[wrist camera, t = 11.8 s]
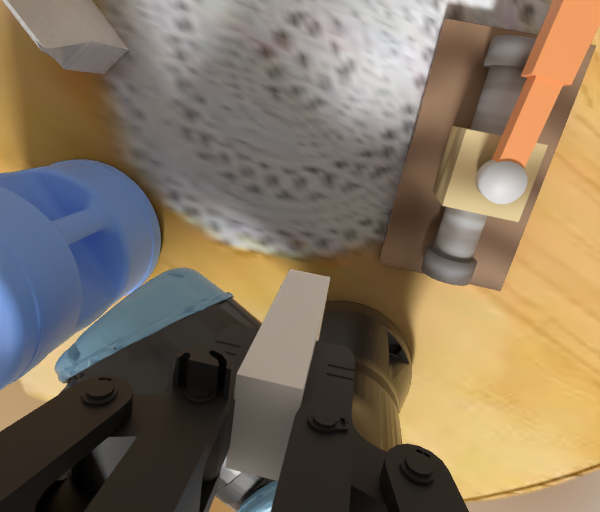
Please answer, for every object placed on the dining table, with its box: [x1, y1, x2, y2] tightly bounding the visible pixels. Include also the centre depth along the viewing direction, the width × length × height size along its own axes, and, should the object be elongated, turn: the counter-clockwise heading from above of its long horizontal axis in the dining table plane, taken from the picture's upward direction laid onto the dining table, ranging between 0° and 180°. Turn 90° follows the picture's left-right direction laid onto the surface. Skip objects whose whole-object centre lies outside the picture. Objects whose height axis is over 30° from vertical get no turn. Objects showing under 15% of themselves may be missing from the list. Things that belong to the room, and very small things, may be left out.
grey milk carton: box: [2, 0, 129, 74], centre depth 37 cm, size 4×7×10 cm, turn 36°
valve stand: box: [379, 19, 596, 291], centre depth 36 cm, size 22×12×8 cm, turn 169°
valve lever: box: [475, 0, 600, 204], centre depth 29 cm, size 14×3×2 cm, turn 164°
